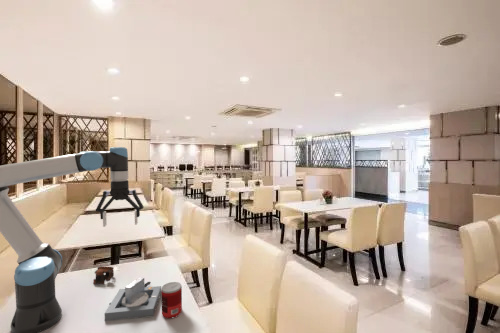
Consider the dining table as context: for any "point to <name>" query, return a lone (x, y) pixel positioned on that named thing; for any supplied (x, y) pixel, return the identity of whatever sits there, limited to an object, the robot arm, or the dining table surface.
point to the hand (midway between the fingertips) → (120, 224)
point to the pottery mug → (101, 277)
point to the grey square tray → (133, 312)
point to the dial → (135, 294)
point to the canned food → (171, 299)
